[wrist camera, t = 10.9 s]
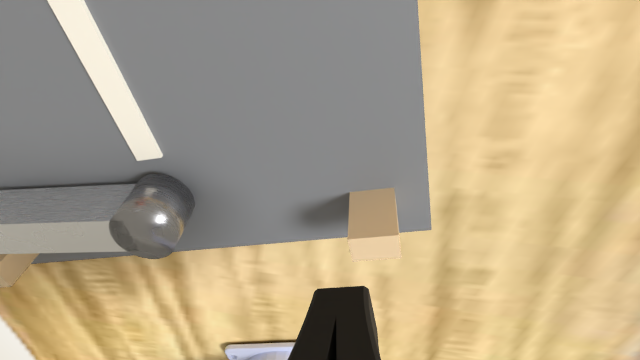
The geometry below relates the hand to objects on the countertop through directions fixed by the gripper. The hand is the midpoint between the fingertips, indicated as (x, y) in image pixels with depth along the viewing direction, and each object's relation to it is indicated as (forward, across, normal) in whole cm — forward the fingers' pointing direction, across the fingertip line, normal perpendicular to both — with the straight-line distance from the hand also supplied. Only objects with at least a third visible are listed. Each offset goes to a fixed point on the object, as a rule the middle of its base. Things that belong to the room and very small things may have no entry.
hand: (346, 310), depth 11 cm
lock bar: (+7, +14, +1) cm, 15 cm away
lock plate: (+9, +9, -3) cm, 13 cm away
